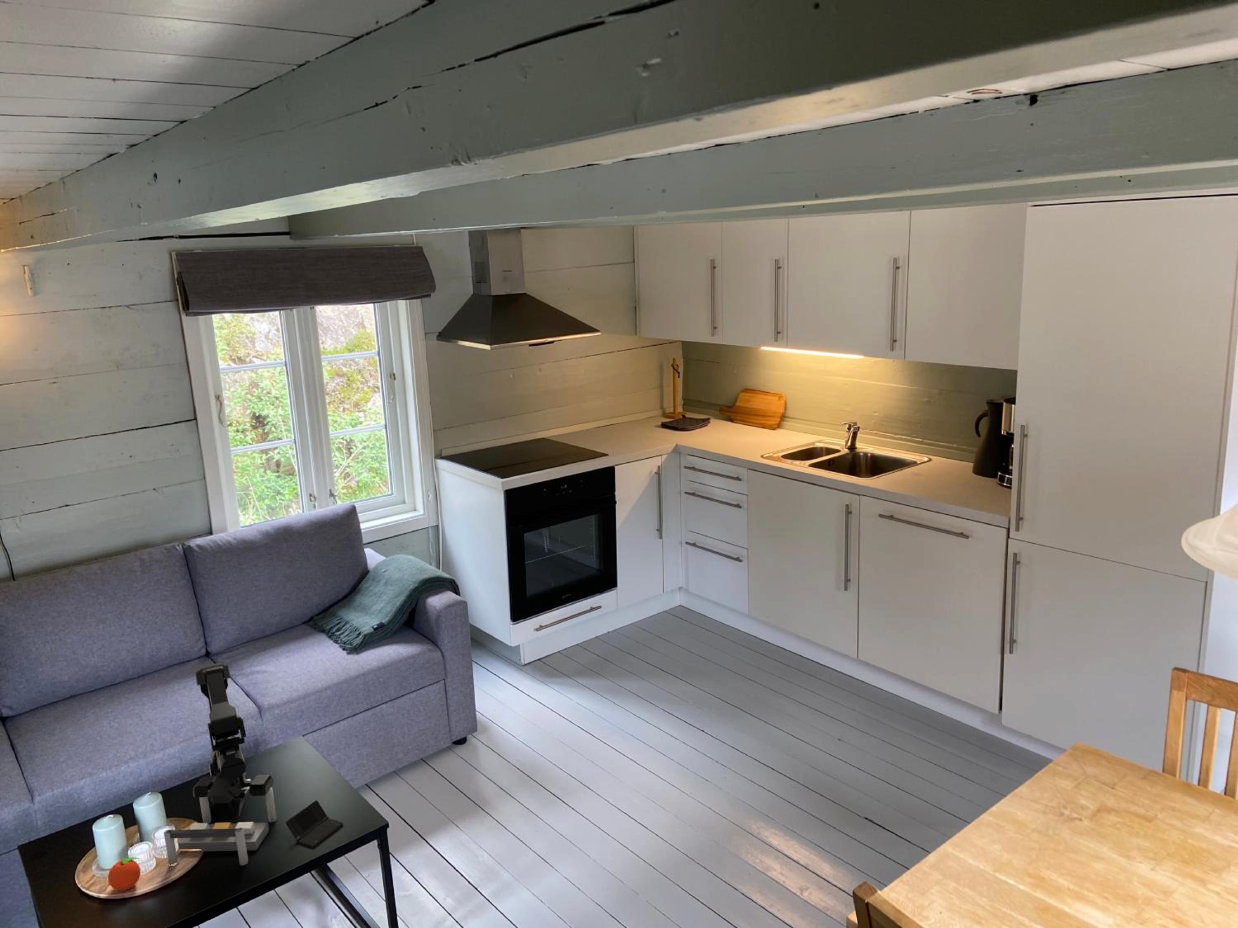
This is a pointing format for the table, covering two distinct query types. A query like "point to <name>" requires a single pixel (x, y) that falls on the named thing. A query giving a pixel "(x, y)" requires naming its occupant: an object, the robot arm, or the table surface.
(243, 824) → the paddle
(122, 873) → the clementine
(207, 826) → the paddle
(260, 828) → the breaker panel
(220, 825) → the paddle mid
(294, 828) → the handheld gaming console
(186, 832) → the frame
